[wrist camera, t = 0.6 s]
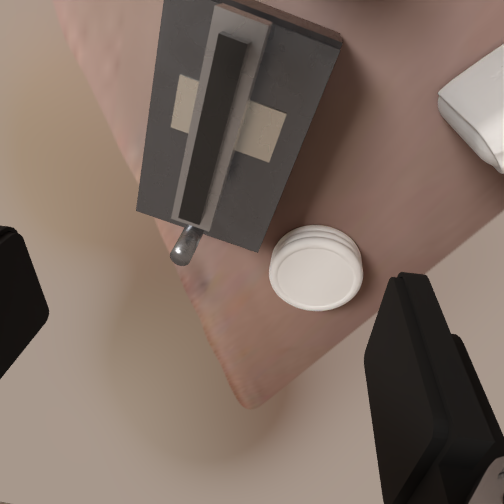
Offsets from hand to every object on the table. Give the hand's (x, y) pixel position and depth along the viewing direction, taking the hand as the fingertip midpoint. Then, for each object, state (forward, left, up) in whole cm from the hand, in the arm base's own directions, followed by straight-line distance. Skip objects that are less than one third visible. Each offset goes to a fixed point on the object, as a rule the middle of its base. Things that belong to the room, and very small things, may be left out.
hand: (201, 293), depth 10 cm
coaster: (+17, +10, -28) cm, 34 cm away
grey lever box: (+5, -3, -27) cm, 28 cm away
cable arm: (+3, -3, -18) cm, 18 cm away
